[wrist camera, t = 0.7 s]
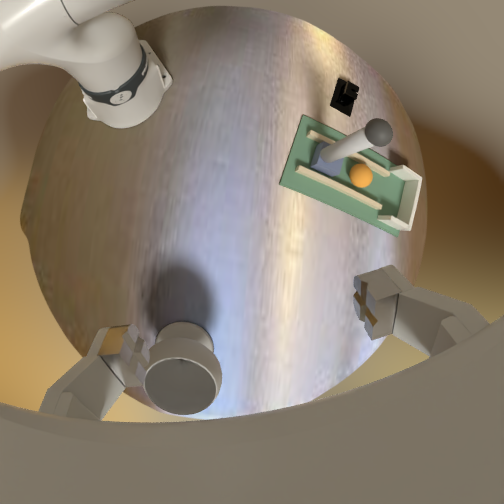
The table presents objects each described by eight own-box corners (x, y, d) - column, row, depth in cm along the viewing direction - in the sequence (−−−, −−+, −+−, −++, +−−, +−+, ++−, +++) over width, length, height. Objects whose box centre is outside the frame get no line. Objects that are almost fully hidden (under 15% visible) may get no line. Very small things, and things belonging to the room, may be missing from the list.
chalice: (147, 315, 50) (130, 349, 36) (217, 316, 53) (223, 350, 38) (155, 374, 52) (144, 418, 37) (219, 375, 54) (225, 419, 40)
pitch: (279, 184, 52) (279, 184, 51) (302, 115, 51) (303, 114, 50) (396, 236, 58) (397, 237, 57) (411, 176, 57) (412, 176, 56)
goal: (291, 180, 51) (300, 177, 46) (310, 124, 51) (319, 117, 46) (396, 229, 57) (410, 230, 52) (408, 179, 56) (422, 177, 51)
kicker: (307, 166, 51) (372, 137, 29) (314, 144, 51) (378, 106, 29) (331, 176, 52) (403, 157, 30) (337, 155, 52) (408, 127, 30)
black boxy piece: (350, 124, 53) (360, 119, 49) (322, 110, 52) (331, 102, 47) (360, 85, 52) (370, 78, 48) (334, 71, 51) (343, 62, 47)
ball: (341, 168, 53) (353, 165, 48) (359, 163, 53) (372, 159, 49) (349, 191, 54) (362, 189, 49) (367, 185, 54) (380, 182, 49)
